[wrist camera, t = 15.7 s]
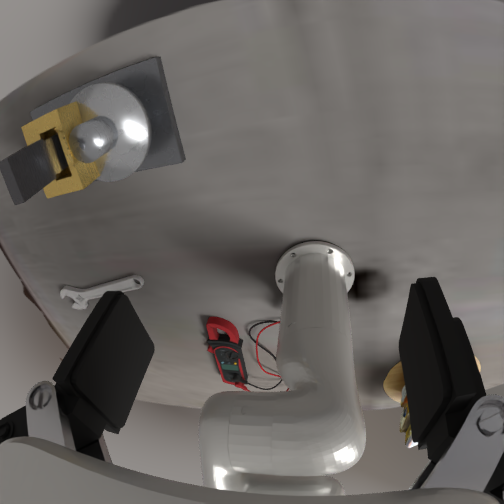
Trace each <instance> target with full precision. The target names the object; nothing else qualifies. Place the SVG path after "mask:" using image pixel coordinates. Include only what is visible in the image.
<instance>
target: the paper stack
mask: <svg viewBox="0 0 504 504" xmlns="http://www.w3.org/2000/svg"><path fill="white" fill-rule="evenodd" d="M475 359H476V362H477V366H478V369H479V372H480V370H481V366H480V362H479V360H478V359H477V358H476V357H475ZM383 386H384V390H385V392H386V394H387V395H388V396H389V397H390V398H392V399H394V400H395V401H398V402H400V403H401V407H404V410H403V413H402V415H401V421H400V432H406V439H405V445H406V446H407V447H408V448H410V447H413V446H415V445H418V442H416V443H414V442H413V440H412V433H411V425H410V416H409V409H408V401H407V394H406V388H405V381H404V375H403V370H402V364H401V362H399V363H398V364H396V365H395V366H394V367H393V368H392V369H391V370H390V372H389V373H388V374H387V377H386V379H385V380H384V383H383Z"/></svg>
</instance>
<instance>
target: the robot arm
mask: <svg viewBox="0 0 504 504" xmlns="http://www.w3.org/2000/svg"><path fill="white" fill-rule="evenodd" d="M275 280H276V283H277V286H278V288H279V289H280V291H281V292H282V293H283V300H282V310H281V319H280V328H279V337H278V345H277V354H276V364H277V369H278V372H279V374H280V376H281V378H282V380H283V381H284V383H285V384H286V385H287V387H288V388H289V389H290V390H291V391H280V392H249V391H226V392H220V393H216V394H214V395H212V396H211V397H209V398H208V400H207V401H206V402H205V404H204V406H203V408H202V411H201V414H200V419H199V430H198V431H199V432H198V434H199V449H200V459H201V469H202V476H203V485H204V487H203V486H197V485H192V484H187V483H182V482H177V481H172V480H168V479H164V478H160V477H156V476H152V475H148V474H144V473H140V472H137V471H133V470H130V469H127V468H123V467H120V466H117V465H114V464H113V463H112V460H111V458H110V455H109V452H108V449H107V446H106V443H105V440H104V436H103V431H104V429H105V430H107V431H109V432H112V433H116V434H119V431H120V428H122V427H123V426H124V425H125V423H126V420H127V417H128V415H129V412H130V410H131V407H132V405H133V402H134V400H135V397H136V395H137V392H138V390H139V387H140V385H141V382H142V380H143V378H144V375H145V373H146V370H147V368H148V365H149V363H150V361H151V358H152V356H153V353H154V344H153V342H152V340H151V338H150V337H149V335H148V333H147V331H146V330H145V328H144V326H143V324H142V323H141V321H140V319H139V317H138V315H137V314H136V312H135V310H134V308H133V306H132V304H131V302H130V301H129V299H128V297H127V296H126V295H124V293H123V292H122V291H106V292H105V293H104V294H103V296H102V297H101V299H100V300H99V302H98V303H97V305H96V306H95V308H94V309H93V311H92V313H91V314H90V316H89V317H88V319H87V320H86V322H85V324H84V325H83V327H82V329H81V330H80V332H79V333H78V335H77V337H76V338H75V340H74V342H73V343H72V345H71V347H70V348H69V350H68V352H67V354H66V355H65V357H64V359H63V360H62V362H61V364H60V366H59V367H58V369H57V371H56V373H55V375H54V377H53V380H54V381H55V382H56V385H55V386H54V385H53V384H52V382H49V381H41V382H38V383H37V384H35V385H34V386H33V387H32V388H31V390H30V391H29V393H28V395H27V398H26V406H24V407H22V408H20V409H19V410H17V411H15V412H13V413H11V414H9V415H7V416H6V417H4V418H2V419H1V420H0V504H504V397H502V396H499V395H487V396H486V393H485V389H484V385H483V382H482V378H481V375H480V372H479V369H478V366H477V362H476V359H475V356H474V353H473V351H472V348H471V345H470V342H469V339H468V336H467V334H466V331H465V328H464V326H463V323H462V321H461V320H460V319H459V318H458V317H455V318H453V317H452V315H451V312H450V310H449V307H448V304H447V302H446V299H445V297H444V295H443V292H442V290H441V287H440V285H439V283H438V280H437V279H436V277H428V278H418V279H417V281H416V283H415V284H411V287H410V292H409V298H408V303H407V308H406V313H405V317H404V322H403V326H402V331H401V335H400V339H399V353H400V358H401V364H402V370H403V375H404V381H405V388H406V394H407V401H408V409H409V416H410V425H411V433H412V440H413V442H414V443H416V442H418V449H419V450H420V449H426V448H427V450H428V458H429V459H430V461H429V462H428V464H427V465H426V466H425V468H424V469H423V471H422V472H421V474H420V475H419V476H418V478H417V479H416V480H415V482H414V483H413V485H412V486H411V487H410V488H409V490H404V491H393V492H383V493H373V494H360V495H345V490H344V487H343V486H342V484H341V483H340V482H339V481H338V480H337V479H335V478H333V477H328V476H322V475H329V474H335V473H339V472H342V471H344V470H346V469H348V468H350V467H351V466H353V465H354V464H356V463H357V462H358V460H359V459H360V458H361V456H362V454H363V452H364V448H365V444H366V430H365V422H364V417H363V413H362V408H361V404H360V400H359V395H358V390H357V385H356V377H355V368H354V357H353V347H352V334H351V323H350V314H349V305H348V296H347V292H348V291H349V290H350V288H351V286H352V284H353V281H354V266H353V263H352V260H351V259H350V257H349V256H348V254H347V253H346V252H345V251H344V250H342V249H341V248H339V247H338V246H336V245H333V244H331V243H327V242H322V241H310V242H304V243H301V244H298V245H296V246H293V247H291V248H290V249H289V250H287V251H286V252H285V253H284V254H283V255H282V256H281V258H280V259H279V261H278V263H277V266H276V272H275Z"/></svg>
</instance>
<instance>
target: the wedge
mask: <svg viewBox="0 0 504 504" xmlns="http://www.w3.org/2000/svg"><path fill="white" fill-rule="evenodd" d="M68 166H69V165H68V163H67V160H66V157H65V154H64V151H63V148H62V145H61V142H60V139H59V136H58V133H57V134H55V135H53V136H51V137H49V138H47V139H45V140H43V138H42V139H40V140H38V141H36V142H33V143H31V144H30V145H28V146H26V147H24V148H22V149H21V150H19V151H17V152H16V153H14V154H12V155H10V156H9V157H7V158H5V159H4V160H2V161H0V170H1V173H2V175H3V178H4V180H5V183H6V185H7V188H8V190H9V193H10V195H11V197H12V200H13V202H14V204H15V205H18V204H21V203H24V202H26V201H27V200H28V199H29V198H31V197H32V196H33V195H35V194H36V193H37V192H39V191H40V190H41V189H43V188H44V187H45V186H47V185H48V184H49V183H51V182H52V181H53V180H55V179H56V174H58V173H59V172H61V171H62V170H64V169H65V168H67V167H68Z"/></svg>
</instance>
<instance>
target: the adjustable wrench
mask: <svg viewBox="0 0 504 504" xmlns="http://www.w3.org/2000/svg"><path fill="white" fill-rule="evenodd" d="M133 279H136V280H138V281H139V282H140V283H141V284H137V283H136V282H135V281H134V280H133ZM143 284H144V280H143V279H142V277H140V276H138V275H132V276H129V277H125V278H122V279H118V280H115V281H111V282H108V283H104V284H101V285H98V286H94V287H91V288H87V289H79V288H75V287H71V286H64V287H63V289H62V290H61V292H60V295H61V298H62V299H63V298H64V297H65V295H66V296H69V297H71V298H72V299H73V300H74V301H75V303H74V304H73V306H72V307H73V308H75V309H83V308H84V309H86V308H87V306H88V305H89V304H88V303H87V301H88V300H89V299H94V298H99V297H102V296H103V294H104V293H105V292H106V291H122V292H127V291H131V290H136V289H140V288H141V287H142V286H143Z"/></svg>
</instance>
